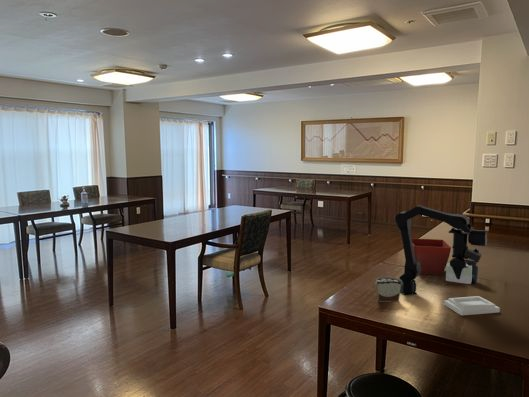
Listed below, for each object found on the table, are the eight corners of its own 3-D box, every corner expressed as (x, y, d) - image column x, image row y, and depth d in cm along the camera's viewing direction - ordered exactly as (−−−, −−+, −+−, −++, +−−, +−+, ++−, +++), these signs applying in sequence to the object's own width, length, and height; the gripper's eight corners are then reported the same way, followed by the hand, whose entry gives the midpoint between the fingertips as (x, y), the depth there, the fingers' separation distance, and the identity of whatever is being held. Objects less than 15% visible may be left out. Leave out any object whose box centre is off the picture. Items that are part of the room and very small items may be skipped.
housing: (470, 284, 173) (471, 268, 173) (445, 280, 178) (446, 265, 178) (471, 280, 178) (472, 265, 177) (447, 277, 183) (447, 262, 182)
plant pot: (450, 277, 215) (451, 247, 213) (413, 275, 218) (414, 245, 216) (441, 267, 233) (443, 239, 231) (407, 265, 237) (408, 238, 235)
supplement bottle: (469, 284, 203) (471, 262, 201) (459, 280, 209) (461, 258, 208) (480, 283, 205) (482, 260, 203) (470, 279, 211) (471, 257, 210)
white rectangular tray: (461, 315, 166) (461, 308, 165) (443, 304, 177) (444, 297, 177) (499, 312, 169) (500, 305, 168) (479, 301, 180) (480, 295, 180)
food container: (397, 296, 188) (397, 276, 186) (401, 301, 182) (402, 280, 180) (371, 296, 187) (371, 276, 186) (375, 301, 181) (375, 280, 180)
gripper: (479, 249, 164) (478, 286, 166) (481, 241, 180) (480, 274, 182) (450, 247, 170) (449, 282, 171) (454, 238, 186) (453, 271, 187)
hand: (458, 277), depth 178 cm, fingers closed on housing, 5 cm apart
